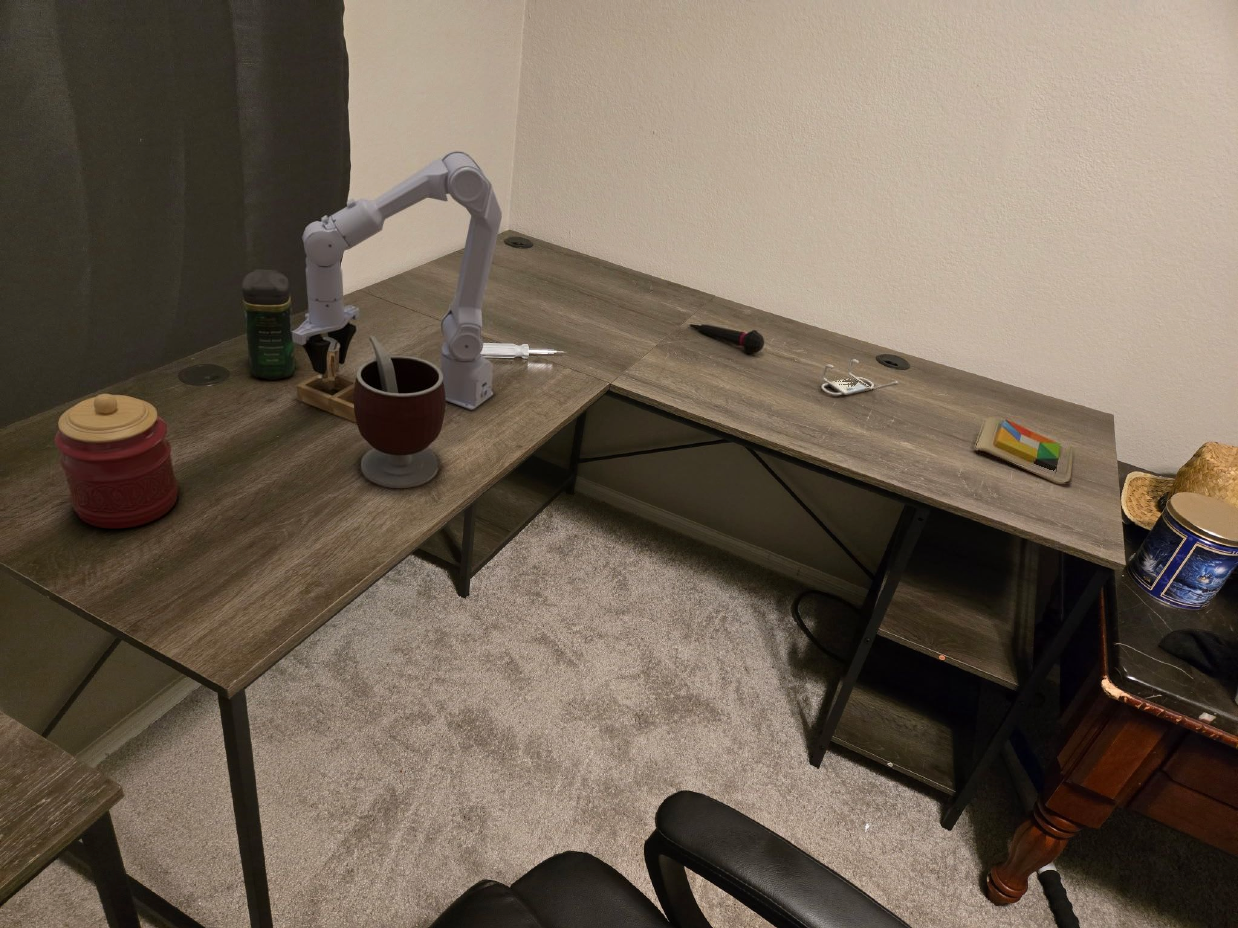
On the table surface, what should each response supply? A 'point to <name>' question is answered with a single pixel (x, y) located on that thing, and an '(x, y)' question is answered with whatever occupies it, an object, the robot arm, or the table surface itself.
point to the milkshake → (331, 366)
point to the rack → (329, 396)
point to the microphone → (734, 337)
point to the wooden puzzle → (1021, 446)
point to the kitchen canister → (116, 461)
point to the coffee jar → (268, 324)
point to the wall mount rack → (849, 390)
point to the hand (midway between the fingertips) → (329, 367)
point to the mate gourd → (399, 417)
